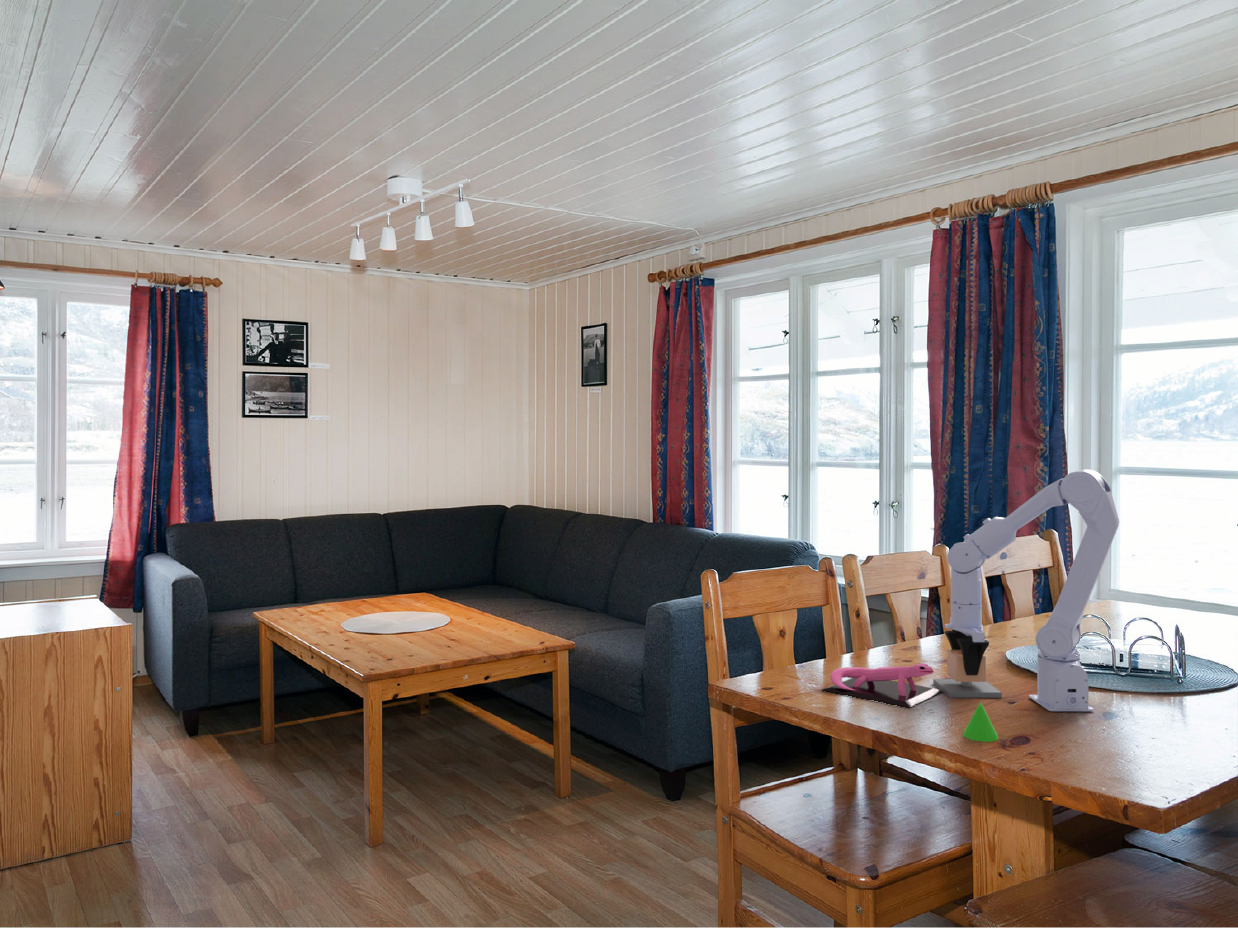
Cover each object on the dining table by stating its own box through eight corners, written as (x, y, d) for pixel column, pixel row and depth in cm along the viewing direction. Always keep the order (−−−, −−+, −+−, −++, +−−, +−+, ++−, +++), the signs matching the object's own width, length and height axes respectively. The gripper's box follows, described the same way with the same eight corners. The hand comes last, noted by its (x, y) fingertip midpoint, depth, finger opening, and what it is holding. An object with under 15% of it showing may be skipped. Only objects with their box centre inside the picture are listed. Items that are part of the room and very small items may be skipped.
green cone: (955, 737, 151) (955, 701, 151) (970, 729, 155) (970, 694, 155) (990, 745, 146) (990, 708, 146) (1006, 736, 151) (1006, 701, 151)
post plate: (1001, 697, 173) (1001, 671, 173) (948, 697, 174) (948, 671, 174) (983, 683, 183) (983, 659, 183) (933, 683, 184) (933, 659, 184)
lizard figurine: (916, 713, 166) (916, 674, 165) (821, 693, 179) (820, 657, 179) (950, 697, 176) (950, 659, 176) (857, 679, 190) (857, 644, 190)
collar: (985, 681, 175) (985, 656, 175) (956, 681, 176) (956, 656, 176) (975, 674, 181) (975, 649, 181) (947, 674, 181) (947, 649, 181)
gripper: (934, 596, 185) (934, 661, 186) (957, 609, 171) (957, 680, 171) (969, 596, 185) (969, 661, 185) (995, 609, 171) (995, 680, 171)
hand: (966, 670), depth 178 cm, fingers closed on collar, 5 cm apart
